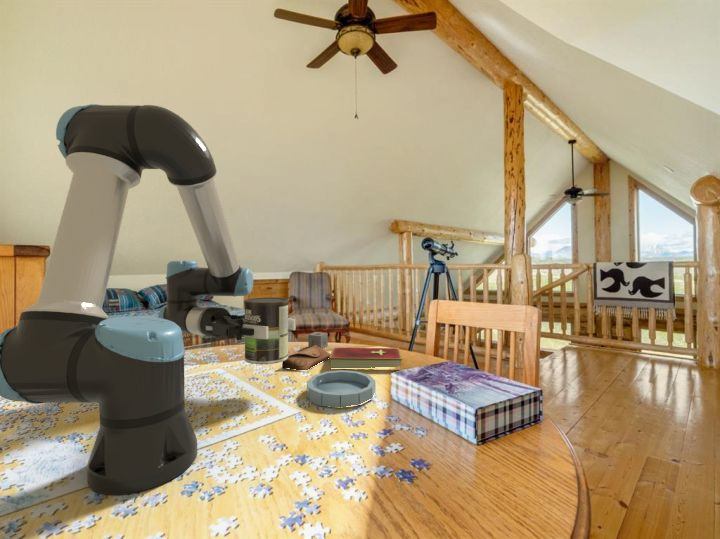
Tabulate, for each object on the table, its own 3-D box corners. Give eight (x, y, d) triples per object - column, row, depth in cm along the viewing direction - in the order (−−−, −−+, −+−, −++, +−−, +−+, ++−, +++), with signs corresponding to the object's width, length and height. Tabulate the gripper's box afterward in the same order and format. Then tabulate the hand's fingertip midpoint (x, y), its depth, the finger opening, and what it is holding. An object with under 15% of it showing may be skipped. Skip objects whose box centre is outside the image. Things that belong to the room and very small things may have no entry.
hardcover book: (333, 359, 117) (333, 346, 116) (398, 360, 116) (398, 347, 116) (329, 371, 105) (329, 357, 104) (401, 372, 104) (402, 358, 104)
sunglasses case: (306, 372, 102) (296, 351, 103) (288, 381, 105) (279, 360, 106) (336, 355, 118) (327, 337, 119) (320, 364, 121) (312, 346, 122)
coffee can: (259, 367, 79) (259, 303, 79) (236, 358, 86) (235, 299, 86) (297, 358, 87) (297, 299, 86) (273, 350, 94) (273, 296, 93)
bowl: (384, 403, 82) (384, 390, 82) (313, 412, 77) (313, 398, 77) (363, 379, 97) (363, 368, 97) (303, 385, 92) (303, 373, 92)
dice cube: (308, 348, 127) (308, 334, 127) (315, 345, 132) (315, 331, 132) (320, 350, 125) (320, 336, 125) (327, 346, 130) (327, 333, 130)
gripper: (240, 328, 104) (307, 334, 95) (172, 345, 83) (249, 356, 74) (240, 302, 104) (307, 306, 95) (171, 313, 83) (248, 320, 74)
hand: (281, 328), depth 85 cm, fingers closed on coffee can, 10 cm apart
